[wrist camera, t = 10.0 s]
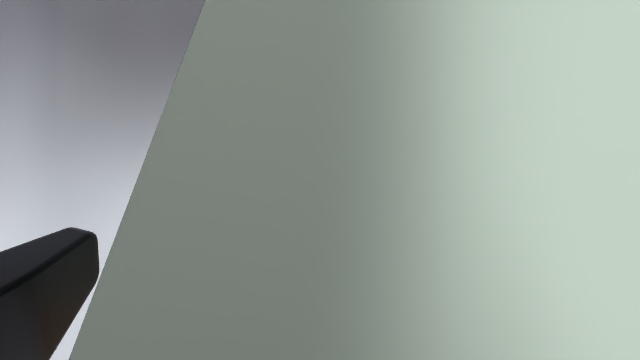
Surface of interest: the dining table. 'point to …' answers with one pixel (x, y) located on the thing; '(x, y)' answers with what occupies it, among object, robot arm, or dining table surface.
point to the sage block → (386, 188)
